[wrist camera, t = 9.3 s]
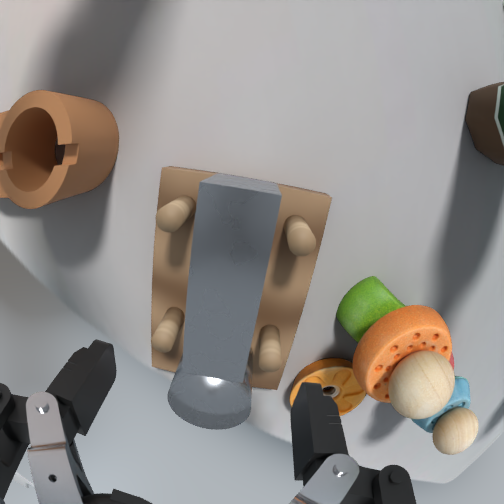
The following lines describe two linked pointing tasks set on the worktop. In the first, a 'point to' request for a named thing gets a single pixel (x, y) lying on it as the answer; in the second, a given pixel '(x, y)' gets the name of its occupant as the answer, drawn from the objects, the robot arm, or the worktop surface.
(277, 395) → the worktop surface
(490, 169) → the worktop surface
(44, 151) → the bracket
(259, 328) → the rack
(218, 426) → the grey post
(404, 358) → the wooden stacking toy
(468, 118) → the beer bottle
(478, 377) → the worktop surface
